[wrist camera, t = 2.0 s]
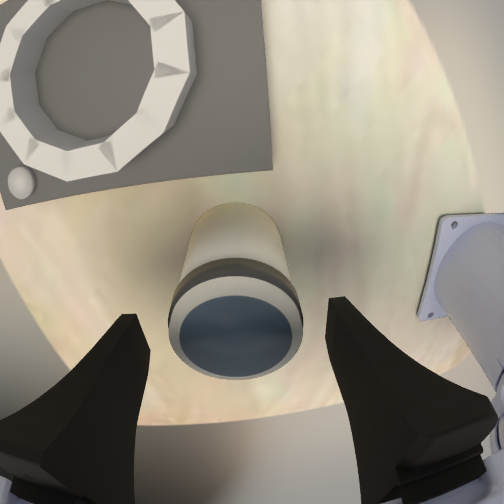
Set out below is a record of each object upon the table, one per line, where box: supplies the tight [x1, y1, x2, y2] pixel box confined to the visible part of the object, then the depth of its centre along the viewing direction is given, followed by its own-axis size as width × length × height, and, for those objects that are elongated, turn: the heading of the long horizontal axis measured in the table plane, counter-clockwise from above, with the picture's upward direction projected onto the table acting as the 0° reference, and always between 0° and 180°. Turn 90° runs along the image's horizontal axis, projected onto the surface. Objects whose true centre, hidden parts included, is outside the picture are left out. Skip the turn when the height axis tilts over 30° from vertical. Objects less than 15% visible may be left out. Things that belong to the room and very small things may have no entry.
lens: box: [168, 203, 303, 380], centre depth 14 cm, size 5×5×7 cm
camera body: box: [0, 0, 273, 210], centre depth 11 cm, size 14×11×4 cm
